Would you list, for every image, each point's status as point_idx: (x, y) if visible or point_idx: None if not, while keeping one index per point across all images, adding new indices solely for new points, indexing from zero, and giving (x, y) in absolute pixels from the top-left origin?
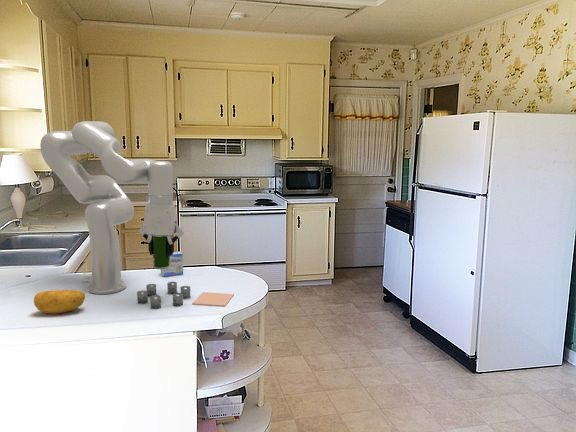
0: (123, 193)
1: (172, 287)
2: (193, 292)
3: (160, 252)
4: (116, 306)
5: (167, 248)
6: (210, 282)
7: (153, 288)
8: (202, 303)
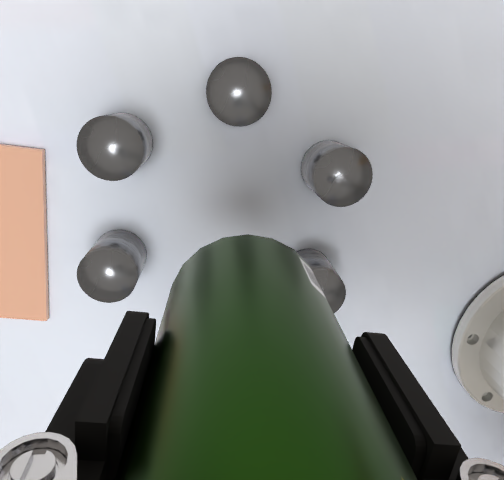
0: None
1: None
2: (104, 324)
3: (235, 308)
4: (448, 98)
5: (131, 375)
6: None
7: None
8: None
